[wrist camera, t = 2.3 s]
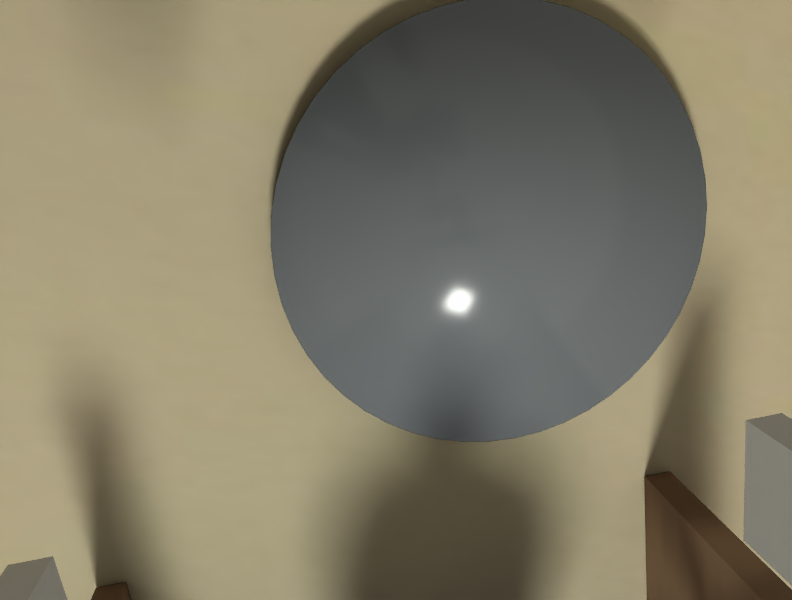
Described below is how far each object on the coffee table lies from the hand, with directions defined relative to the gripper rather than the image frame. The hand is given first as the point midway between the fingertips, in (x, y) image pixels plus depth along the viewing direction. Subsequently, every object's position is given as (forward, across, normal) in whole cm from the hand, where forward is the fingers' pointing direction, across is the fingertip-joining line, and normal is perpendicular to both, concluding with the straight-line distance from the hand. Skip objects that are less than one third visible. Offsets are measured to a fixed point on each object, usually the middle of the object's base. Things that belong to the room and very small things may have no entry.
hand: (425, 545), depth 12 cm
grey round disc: (+10, +4, +4) cm, 11 cm away
